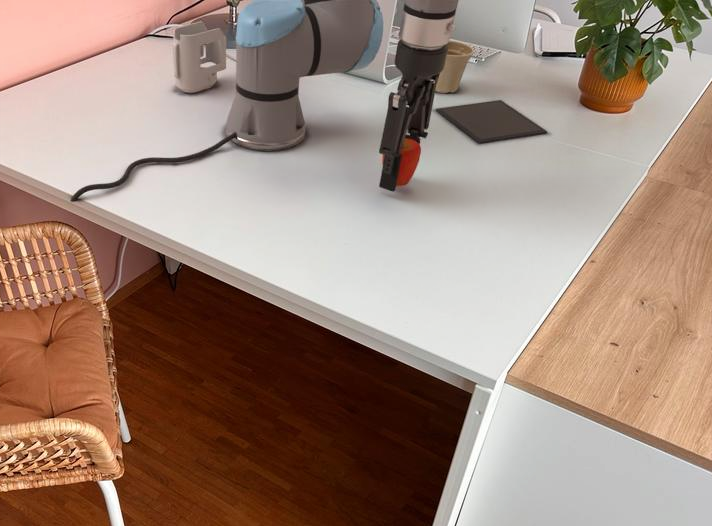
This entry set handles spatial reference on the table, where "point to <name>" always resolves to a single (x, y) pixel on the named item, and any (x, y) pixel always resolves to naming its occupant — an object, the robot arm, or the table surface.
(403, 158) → the red bell pepper
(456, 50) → the flower pot
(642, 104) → the table surface
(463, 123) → the place mat
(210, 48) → the grey boxy plastic piece
